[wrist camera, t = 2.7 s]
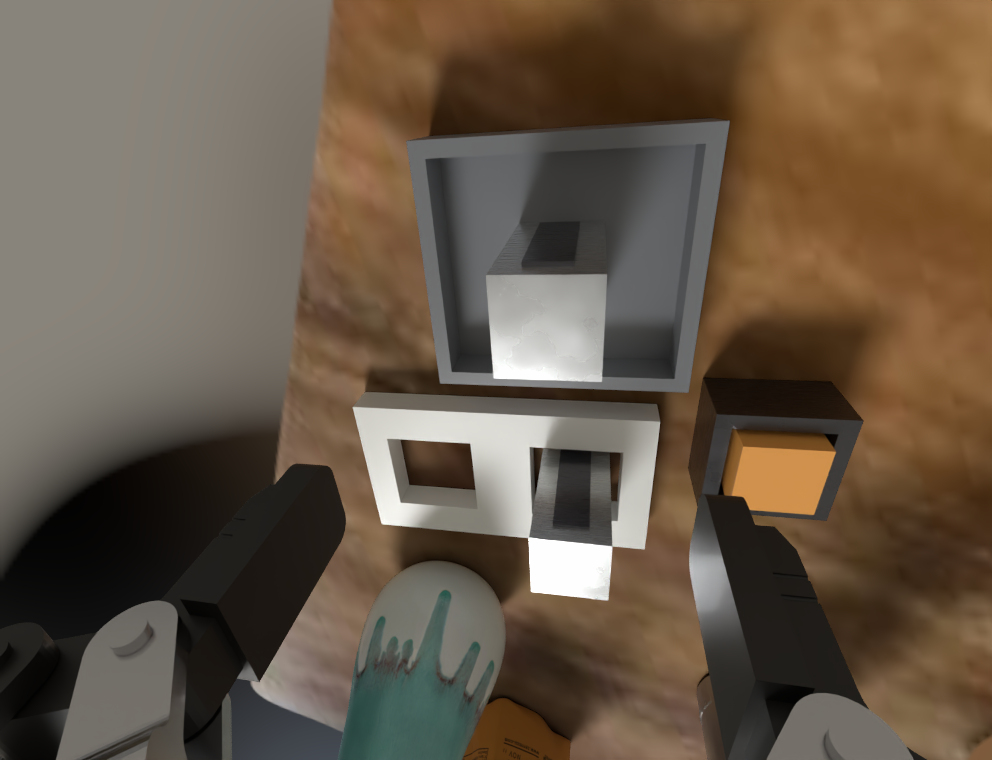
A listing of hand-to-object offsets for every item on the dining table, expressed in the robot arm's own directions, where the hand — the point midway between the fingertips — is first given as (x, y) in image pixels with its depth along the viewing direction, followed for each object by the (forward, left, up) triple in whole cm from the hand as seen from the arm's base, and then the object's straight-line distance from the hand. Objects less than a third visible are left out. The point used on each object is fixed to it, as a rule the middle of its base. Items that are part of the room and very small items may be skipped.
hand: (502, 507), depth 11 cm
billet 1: (0, 0, -18) cm, 19 cm away
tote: (0, 0, -20) cm, 20 cm away
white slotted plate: (+4, +15, -20) cm, 25 cm away
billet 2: (-1, +15, -20) cm, 25 cm away
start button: (-12, +11, -17) cm, 24 cm away
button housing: (-12, +11, -20) cm, 26 cm away
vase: (+10, +30, -20) cm, 37 cm away
